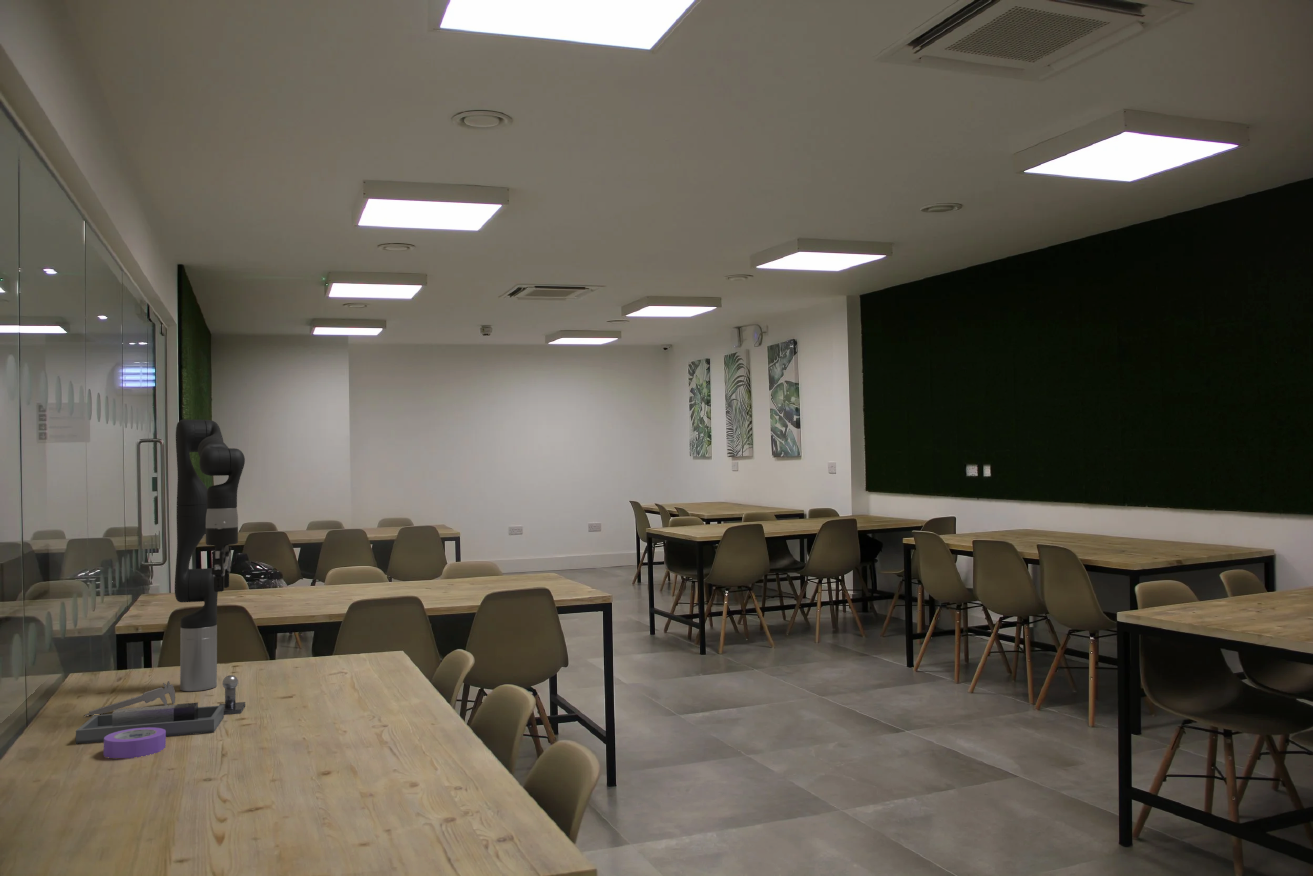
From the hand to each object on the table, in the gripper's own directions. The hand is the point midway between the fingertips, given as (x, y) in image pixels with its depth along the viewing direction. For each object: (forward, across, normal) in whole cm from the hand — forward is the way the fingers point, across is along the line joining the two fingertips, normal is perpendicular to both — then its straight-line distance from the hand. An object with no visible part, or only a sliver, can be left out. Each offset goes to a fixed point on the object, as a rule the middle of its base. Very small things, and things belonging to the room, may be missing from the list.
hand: (221, 589), depth 238 cm
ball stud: (+30, +3, +2) cm, 30 cm away
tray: (+30, +17, -12) cm, 37 cm away
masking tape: (+31, +34, -12) cm, 47 cm away
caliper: (+31, -7, -22) cm, 38 cm away
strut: (+30, +17, -12) cm, 36 cm away
